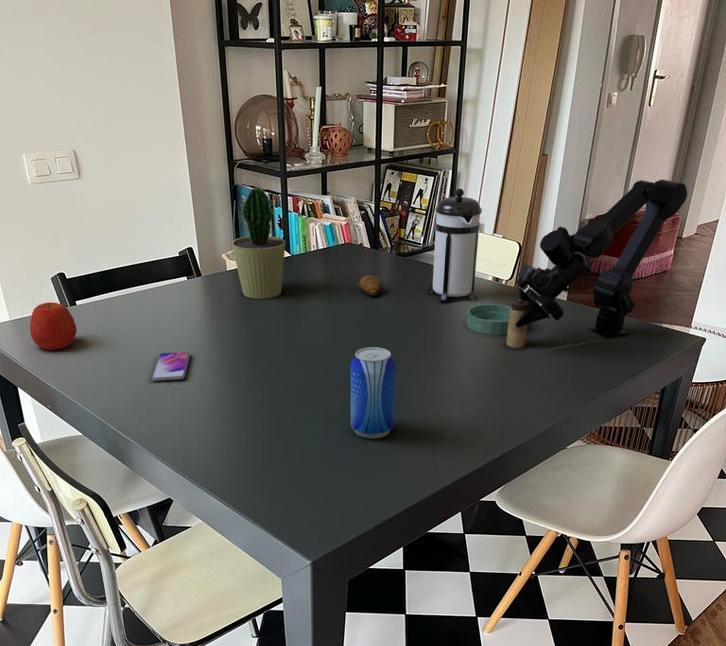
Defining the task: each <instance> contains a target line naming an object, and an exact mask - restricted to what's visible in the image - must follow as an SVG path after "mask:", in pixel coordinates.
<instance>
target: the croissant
mask: <svg viewBox="0 0 726 646" xmlns="http://www.w3.org/2000/svg"><path fill="white" fill-rule="evenodd" d="M358 286H359V288H360V290H361V291H362V292H363V293H365V294H366V295H367V296H369V297H372V298H374V297H376V296H377V295H378V293H379V292H380V290H381V287H382V283H381V280H380V278H379V277H378V276H377V277H376V276H375V275H371V274H369V275H366V276H363V277H362V278H361V279H360V281H359V283H358Z"/></svg>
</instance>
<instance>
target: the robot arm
mask: <svg viewBox="0 0 726 646" xmlns="http://www.w3.org/2000/svg"><path fill="white" fill-rule="evenodd" d="M687 197H688V190H687V186H686V185H685V183H682V182H677V181H673V180H667V179H659V180H656V181H655V182H653V181H648V180H643V179H641V180H637V181H635V182H634V183H633V185H632V187H631V189H630V190H628V191H627V192H626V193H625V194H624V195H623V196H622V197H621V198H620V199H619V200H618V201H617V202H616V203H615V204H613V206H612V207H610V209H608V210H607V211H606V212H605V214H603V215H602V216H601V217H600V218H598V219H597V220H594V221H591V222H588V223H587V224H585V225H584V226H583V227H581V228H580V229H578V230H577V231H576V232H575V233H573V234H569V231H568V229H567V228H566V227H563V226H558V227H557V229H556V230H552V231H549V233H547V234H546V235H544V236H543V237H542V238H541V240H540V244H539V248H540V250H541V251H542V252H543V253H544V254H545V256H546V258H548V260H549V261H550V263H552V265H554V266H553V267H552V268H551V269H550V268H549V267H547V268H545V269H543V268H541V267H537V268H536V267H534V266H532V265H529V264H528V263H525V262H524V263H523V265H522V266H521V268H520V270H519V272H518V274H517V276H518V277H519V278H518V279H516V281H515V284H516V285H517V286H518V299H517V300H519V299H522V300H524V301H527V302H529V306H528V309H527V311H526V312H525V313H524V314H523V315H522V316H521V317H520V319H519V320H518V321H517V322H516V324H515V325H516V327H518V328H519V327H521V326H524V325H527V326H528V325H530V324H532V323H535V322H538V321H542V320H545V319H550V318H551V317H552V318H553V319H554V320H555V321H556V322H558V321H559V320H560V319H562V317H564V314H565V313H564V312H565V310H564V308H562V306H561V305H560V304H559V303H558V301H556V298H557V297H559V295H561V294H562V293H563V292H564V293H568V292H569V290H570V288H569V286H570V285H571V284H572V283H573V282H574V281H575V280H576V279H577V278H578V277H579V276H580V275H581V274H583V273H585V274H586V275H588V276H590V275H591V274H592V267H593V262H591V261H590V260H588V259H585V258H584V256H585V257H588V258H591V259H598V258H600V257H601V256H603V254H604V253H605V252H606V251H607V250H608V248H609V247H610V246H611V245H612V242H613V238H614V235H615V234H616V233H617V232H618V231H619V230H620V229H621V228H623V226H624V225H626V223H627V222H628V221H629V220H630V219H632V218H633V217H634V216H635V215H636V214H637V213H638V212H639V211H640V210H641V209H642V208H643V207H644V206H645V211H644V215H643V216H642V218H641V220H640V221H639V223H638V225H637V226H636V229H635V230H634V232H633V233H632V235H631V236H630V239H629V241H628V242H627V244H626V246H625V248H624V249H623V251H622V252H621V254H620V256H619V258H618V259H617V261H616V263H615V264H614V266H613V267H612V268H610V269H609V270H606V269H603V270H602V271H601V272H600V274H599V276H598V278H597V280H596V281H595V282H593V283H594V284H593V285H594V287H593V288H592V293H593V302H594V306H595V307H598V308H599V309H598V310H599V311H598V314H597V316H596V320H595V327H591V331H593V332H595V333H597V334H599V335H601V336H604V337H605V338H612V337H617V336H623V335H627V331H625V330H624V324H625V319H626V316H627V315H629V314H631V313H632V312H633V310H634V308H635V306H636V304H635V302H634V301H633V299H632V298H631V297H630V294H631V291H632V290H633V276H634V274H635V272H636V270H637V269H638V267H639V265H640V264H641V262H642V260H643V258H644V257H645V255H646V253H647V251H648V250H649V248H650V246H651V244H652V243H653V242H654V240H655V238H656V236H657V235H658V233H659V231H660V229H661V227H662V226H663V225H664V223H665V222H666V221H667V220H669V219H670V218H672V217H673V216H674V215H676V214H677V213H678V212H679V210H680V209H681V207H682V206H683V205H684V204H685V202H686V200H687ZM550 315H551V316H550ZM508 319H509V317H508Z"/></svg>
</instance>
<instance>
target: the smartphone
mask: <svg viewBox="0 0 726 646" xmlns="http://www.w3.org/2000/svg"><path fill="white" fill-rule="evenodd" d="M190 356H191V353H190V352H189V351H176V352H161V353H159V355H158V358H157V361H156V364H155V366H154V370H153V373H152V376H151V381H153V382H159V381H162V382H163V381H175V380H183V379H185V377H186V373H187V368H188V364H189V361H190Z"/></svg>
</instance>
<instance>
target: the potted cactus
mask: <svg viewBox="0 0 726 646" xmlns="http://www.w3.org/2000/svg"><path fill="white" fill-rule="evenodd" d="M249 187H250V188H249V189H250V191H249V190H247V193H248V194H247V195H246V199H245V200H243V201H242V203H243V206H241V212H242V219H243V220H244V223H246V225H247V226H245V227H246V228H245V230H246V231H247V230H248V232H247V234H249V236H244V237H243V236H242V237H239V238H236V239H234V240H232V241H231V247H232V251H233V256H234V260H235V264H236V270H237V273H238V278H239V282H240V286H241V291H242V294H243V296H244V297H247V298H249V299H261V300H262V299H263V300H264V299H272V298H276V297H278V296H280V295H281V293H282V286H283V285H282V284H283V275H284V265H285V263H284V262H285V251H286V240H285V239H283V238H281V237H277V236H273V235H272V236H271V233H273V229H271V227H272V225H273V223H274V222H275V221H273V220H274V217H273V211H272V209H271V205H273V204H274V203H272V202H271V198H270V196H272V194H271V195H270V194H267V192H266V191H265V190H263V189H262V188H261V187H256V188H255V186H252V188H251V186H249ZM269 198H270V199H269Z"/></svg>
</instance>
